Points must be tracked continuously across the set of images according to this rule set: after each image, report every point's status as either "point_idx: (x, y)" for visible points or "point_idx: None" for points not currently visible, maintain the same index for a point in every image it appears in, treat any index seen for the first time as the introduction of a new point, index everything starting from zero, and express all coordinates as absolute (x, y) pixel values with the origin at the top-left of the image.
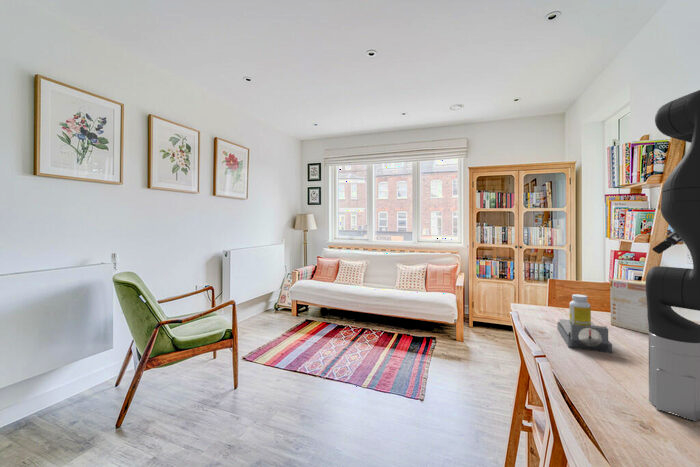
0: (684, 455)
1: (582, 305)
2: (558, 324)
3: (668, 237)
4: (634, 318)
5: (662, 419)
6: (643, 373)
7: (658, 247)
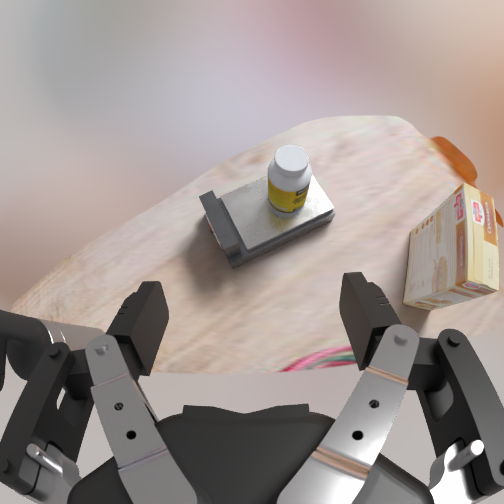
0: None
1: (271, 178)
2: None
3: (42, 356)
4: (418, 262)
5: None
6: (171, 318)
7: (123, 310)
